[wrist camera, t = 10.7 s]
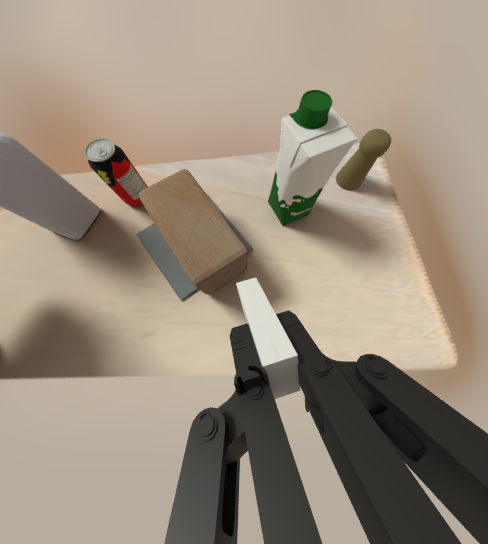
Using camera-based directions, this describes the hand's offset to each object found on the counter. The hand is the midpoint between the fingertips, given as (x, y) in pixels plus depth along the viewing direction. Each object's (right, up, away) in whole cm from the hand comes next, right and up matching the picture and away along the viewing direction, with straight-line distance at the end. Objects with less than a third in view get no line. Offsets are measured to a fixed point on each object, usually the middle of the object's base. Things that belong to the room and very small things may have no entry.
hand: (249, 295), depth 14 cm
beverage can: (-25, +20, +29) cm, 44 cm away
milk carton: (+10, +17, +29) cm, 35 cm away
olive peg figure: (+25, +24, +31) cm, 47 cm away
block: (-3, +1, +18) cm, 19 cm away
